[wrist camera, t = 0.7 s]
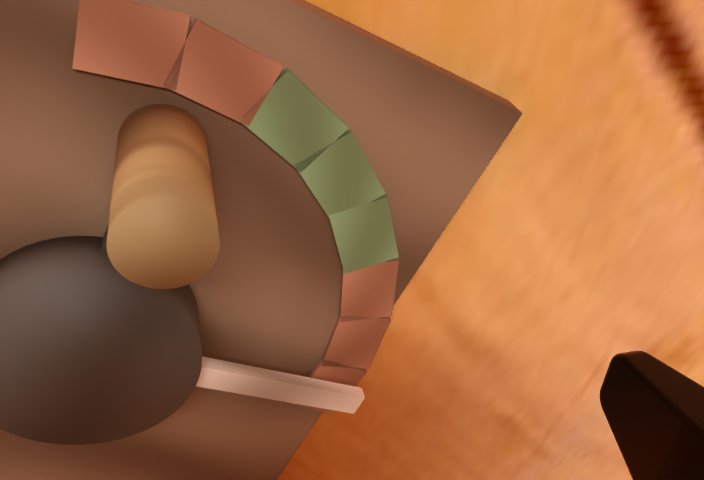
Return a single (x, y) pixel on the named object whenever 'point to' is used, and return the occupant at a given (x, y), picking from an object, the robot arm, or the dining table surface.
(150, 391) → the peg dial
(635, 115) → the dining table surface
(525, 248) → the dining table surface
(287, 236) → the tuner board
